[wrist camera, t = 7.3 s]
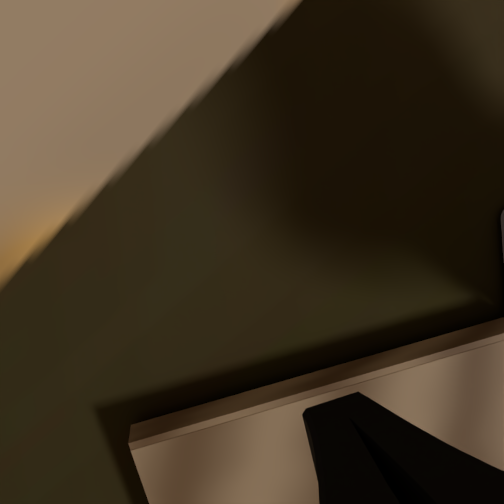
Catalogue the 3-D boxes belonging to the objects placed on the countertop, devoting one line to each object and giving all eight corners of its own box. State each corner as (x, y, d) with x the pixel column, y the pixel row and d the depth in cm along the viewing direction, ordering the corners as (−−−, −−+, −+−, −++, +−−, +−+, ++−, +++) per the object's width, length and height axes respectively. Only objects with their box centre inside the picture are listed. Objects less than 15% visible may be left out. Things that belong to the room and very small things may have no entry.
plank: (509, 315, 20) (529, 326, 19) (513, 456, 23) (531, 472, 22) (130, 424, 18) (128, 443, 17) (179, 566, 21) (180, 592, 20)
